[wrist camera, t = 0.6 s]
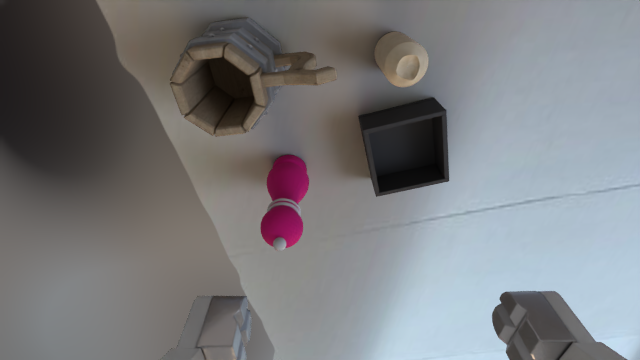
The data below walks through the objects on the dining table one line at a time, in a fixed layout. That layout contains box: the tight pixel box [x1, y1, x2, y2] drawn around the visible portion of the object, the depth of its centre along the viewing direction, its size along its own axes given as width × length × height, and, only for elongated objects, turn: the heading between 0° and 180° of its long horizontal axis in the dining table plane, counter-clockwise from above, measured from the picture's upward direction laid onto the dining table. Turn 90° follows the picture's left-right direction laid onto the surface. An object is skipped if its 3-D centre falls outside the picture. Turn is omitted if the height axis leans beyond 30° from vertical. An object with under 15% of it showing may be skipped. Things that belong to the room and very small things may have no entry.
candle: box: [374, 32, 428, 87], centre depth 42 cm, size 6×6×10 cm
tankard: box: [170, 18, 337, 136], centre depth 41 cm, size 20×13×15 cm, turn 97°
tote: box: [359, 98, 449, 197], centre depth 52 cm, size 13×12×6 cm
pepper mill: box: [261, 155, 309, 251], centre depth 49 cm, size 7×7×20 cm
